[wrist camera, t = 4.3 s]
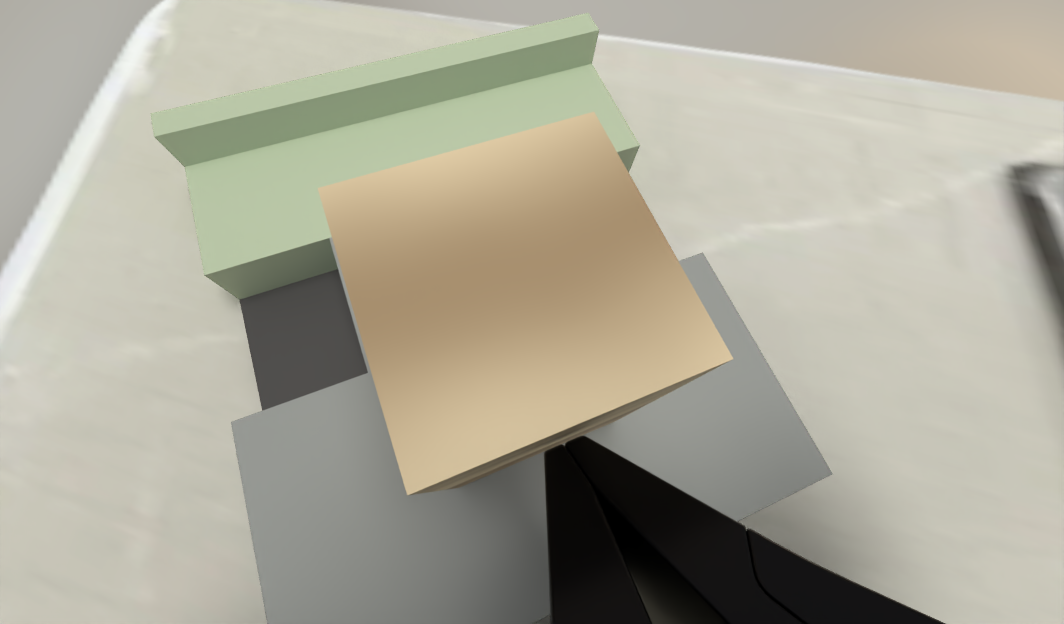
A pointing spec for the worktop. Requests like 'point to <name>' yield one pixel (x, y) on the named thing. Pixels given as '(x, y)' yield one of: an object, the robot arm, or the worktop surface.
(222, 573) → the worktop surface
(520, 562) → the board
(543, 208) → the beech block
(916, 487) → the worktop surface
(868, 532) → the worktop surface
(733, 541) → the robot arm
